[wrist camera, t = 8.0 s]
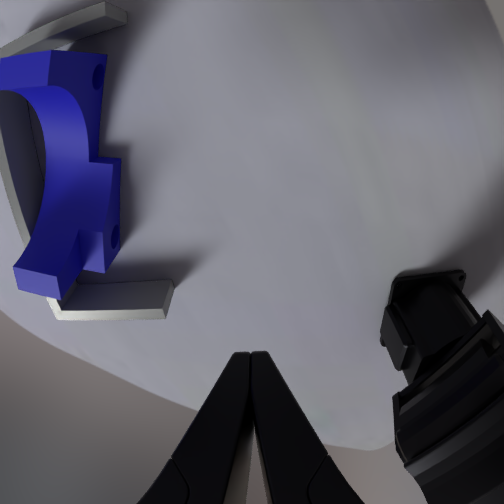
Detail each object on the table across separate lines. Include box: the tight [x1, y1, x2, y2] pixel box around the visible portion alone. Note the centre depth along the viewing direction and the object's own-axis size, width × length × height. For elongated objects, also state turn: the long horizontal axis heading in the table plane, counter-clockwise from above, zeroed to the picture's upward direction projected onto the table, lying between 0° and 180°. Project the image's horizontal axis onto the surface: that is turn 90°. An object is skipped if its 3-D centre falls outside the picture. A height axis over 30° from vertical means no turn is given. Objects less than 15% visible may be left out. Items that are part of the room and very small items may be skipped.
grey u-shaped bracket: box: [0, 1, 174, 320], centre depth 16 cm, size 8×18×3 cm, turn 5°
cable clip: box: [0, 50, 121, 300], centre depth 14 cm, size 12×4×6 cm, turn 170°
